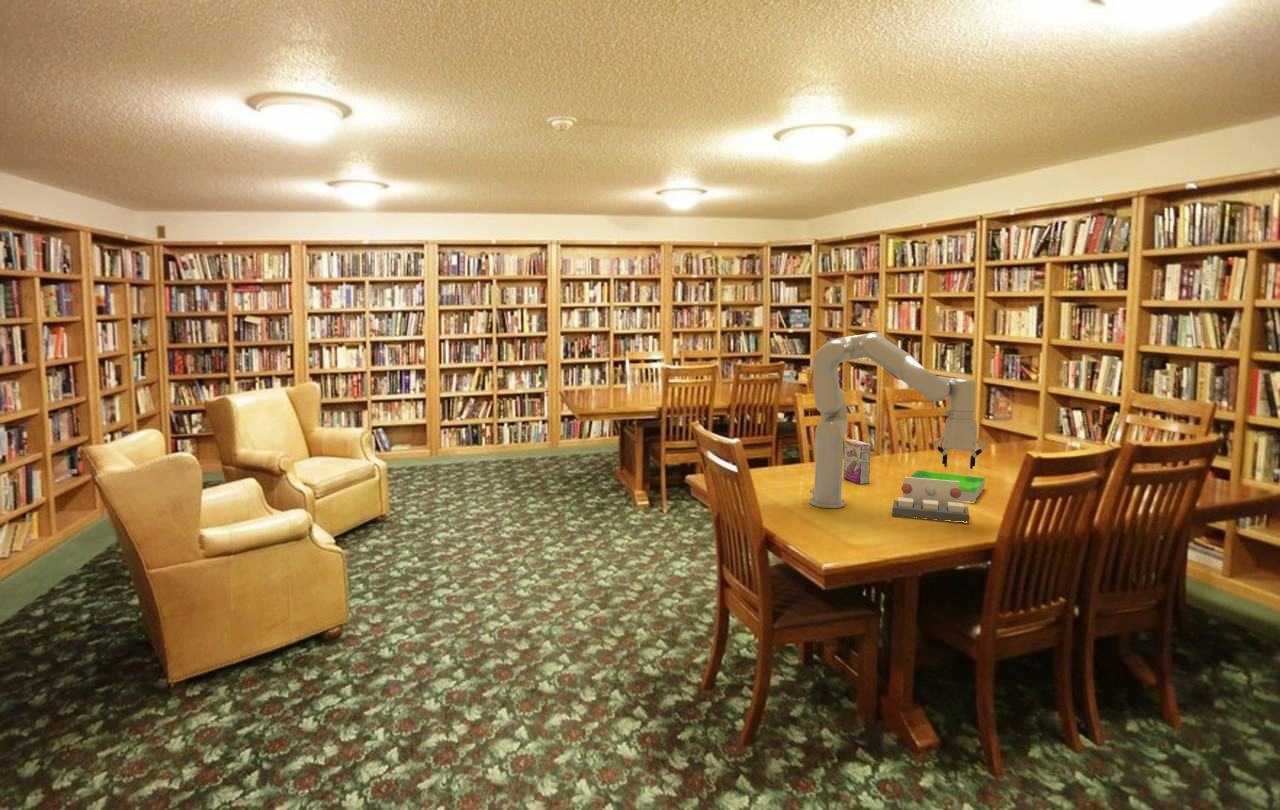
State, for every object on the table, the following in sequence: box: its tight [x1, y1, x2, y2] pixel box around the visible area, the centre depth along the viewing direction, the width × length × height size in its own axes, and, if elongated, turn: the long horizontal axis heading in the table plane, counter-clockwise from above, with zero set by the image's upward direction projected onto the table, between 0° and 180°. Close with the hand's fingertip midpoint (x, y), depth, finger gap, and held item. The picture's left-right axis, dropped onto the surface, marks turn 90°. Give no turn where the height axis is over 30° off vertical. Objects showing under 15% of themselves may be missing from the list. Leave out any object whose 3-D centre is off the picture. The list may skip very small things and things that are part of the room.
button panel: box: [891, 476, 970, 523], centre depth 251 cm, size 24×14×11 cm, turn 68°
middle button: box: [923, 500, 938, 510], centre depth 250 cm, size 5×5×3 cm
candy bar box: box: [842, 438, 872, 485], centre depth 297 cm, size 11×5×16 cm, turn 22°
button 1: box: [897, 496, 913, 508], centre depth 253 cm, size 5×5×3 cm
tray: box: [902, 469, 986, 502], centre depth 281 cm, size 25×25×5 cm
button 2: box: [948, 502, 965, 513], centre depth 247 cm, size 5×5×3 cm
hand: (958, 466), depth 245 cm, fingers open, 7 cm apart
